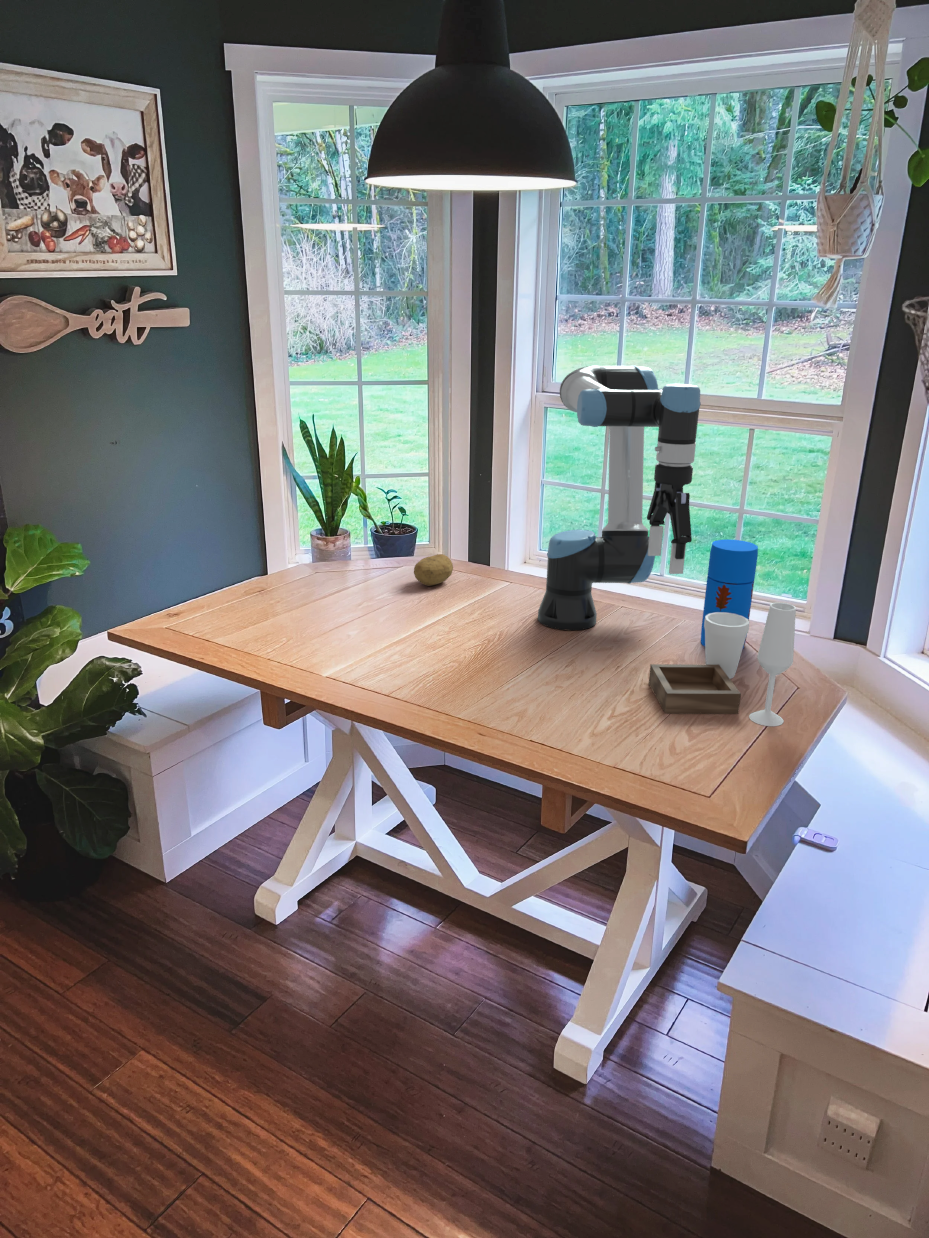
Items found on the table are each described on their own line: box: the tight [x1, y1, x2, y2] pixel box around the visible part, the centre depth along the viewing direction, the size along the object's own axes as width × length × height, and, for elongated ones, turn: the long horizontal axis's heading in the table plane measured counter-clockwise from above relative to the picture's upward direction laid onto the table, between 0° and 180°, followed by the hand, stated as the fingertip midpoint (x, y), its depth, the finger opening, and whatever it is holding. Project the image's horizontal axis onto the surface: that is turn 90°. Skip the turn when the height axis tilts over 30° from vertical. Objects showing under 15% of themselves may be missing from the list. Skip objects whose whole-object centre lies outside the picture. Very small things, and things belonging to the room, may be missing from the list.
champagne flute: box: [748, 601, 797, 727], centre depth 176 cm, size 7×7×24 cm
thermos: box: [700, 539, 759, 651], centre depth 214 cm, size 11×11×25 cm
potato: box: [413, 553, 454, 587], centre depth 258 cm, size 10×14×8 cm
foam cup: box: [704, 612, 750, 680], centre depth 199 cm, size 10×9×13 cm
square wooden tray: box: [648, 663, 742, 715], centre depth 188 cm, size 15×15×4 cm
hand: (664, 564), depth 188 cm, fingers open, 13 cm apart
